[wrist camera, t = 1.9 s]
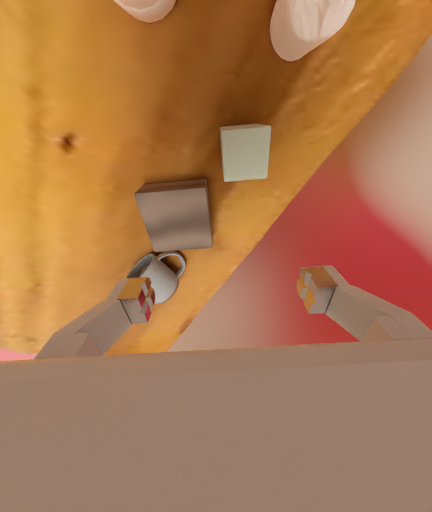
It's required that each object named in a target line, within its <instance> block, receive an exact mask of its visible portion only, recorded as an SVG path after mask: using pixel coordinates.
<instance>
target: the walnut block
mask: <svg viewBox="0 0 432 512" xmlns="http://www.w3.org/2000/svg"><path fill="white" fill-rule="evenodd" d="M134 195H135V198H136V201H137V204H138V206H139V209H140V212H141V215H142V218H143V221H144V224H145V226H146V229H147V232H148V235H149V238H150V241H151V244H152V246H153V249H154V252H161V251H175V250H188V249H202V248H212V247H213V231H212V222H211V213H210V204H209V195H208V186H207V178H205V179H194V180H183V181H172V182H162V183H151V184H144V185H143V186H142V187H141V188H140V189H139V190H138V191H137V192H136V193H135V194H134Z"/></svg>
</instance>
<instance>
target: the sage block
mask: <svg viewBox="0 0 432 512" xmlns="http://www.w3.org/2000/svg"><path fill="white" fill-rule="evenodd" d="M220 137H221V155H222V169H223V176H224V182H228V181H239V180H251V179H263V178H267V174H268V162H269V149H270V137H271V126H268V125H263V124H258V123H256V124H246V125H235V126H225V127H220Z"/></svg>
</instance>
